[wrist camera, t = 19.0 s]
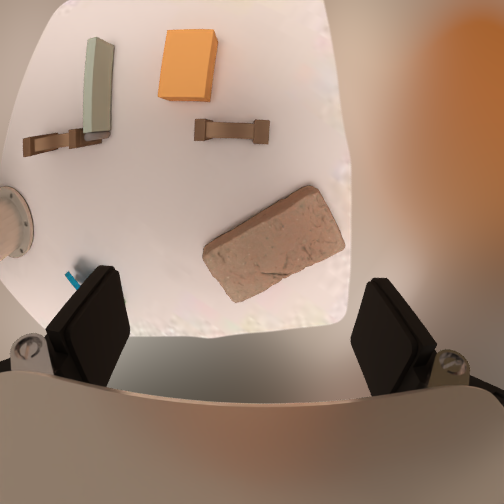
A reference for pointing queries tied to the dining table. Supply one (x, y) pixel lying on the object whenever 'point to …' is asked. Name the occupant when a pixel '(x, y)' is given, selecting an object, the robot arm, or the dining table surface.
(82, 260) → the dining table surface
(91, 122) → the door
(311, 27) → the dining table surface
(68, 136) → the wall frame
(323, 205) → the brick
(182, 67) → the orange rectangular block
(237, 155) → the dining table surface
